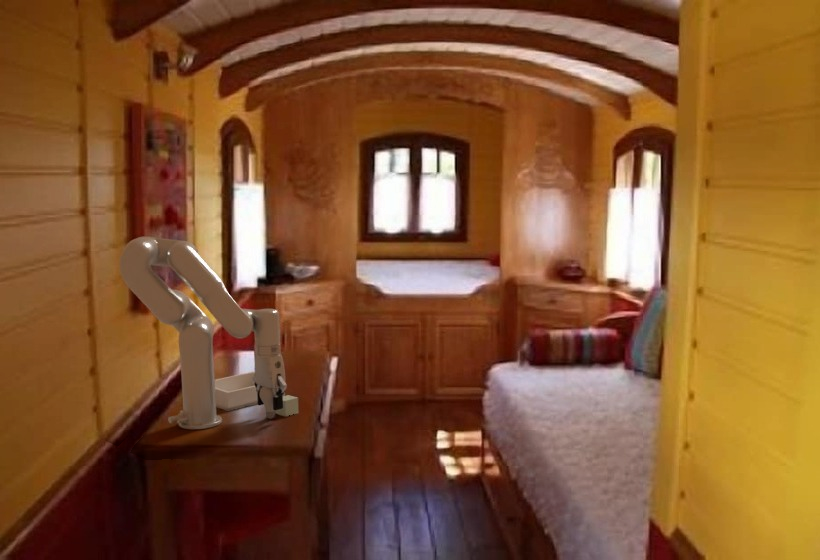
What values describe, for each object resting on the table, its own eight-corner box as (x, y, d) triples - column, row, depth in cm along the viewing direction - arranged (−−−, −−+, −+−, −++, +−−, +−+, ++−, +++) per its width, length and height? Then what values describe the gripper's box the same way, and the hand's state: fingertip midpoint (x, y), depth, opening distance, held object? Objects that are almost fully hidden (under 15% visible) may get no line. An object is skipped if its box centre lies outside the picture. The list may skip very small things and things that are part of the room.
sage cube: (285, 416, 243) (285, 401, 242) (275, 413, 246) (275, 398, 246) (298, 413, 246) (298, 397, 246) (288, 410, 250) (288, 395, 249)
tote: (228, 411, 250) (227, 392, 249) (198, 401, 262) (197, 383, 262) (285, 397, 265) (284, 379, 265) (254, 388, 278) (253, 371, 277)
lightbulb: (276, 422, 237) (275, 386, 236) (257, 421, 238) (255, 385, 237) (283, 416, 243) (282, 381, 242) (265, 415, 244) (263, 380, 243)
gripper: (295, 351, 235) (297, 409, 237) (261, 344, 247) (263, 399, 249) (274, 355, 229) (277, 415, 232) (241, 348, 242) (243, 404, 244)
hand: (270, 406), depth 240 cm, fingers open, 7 cm apart
